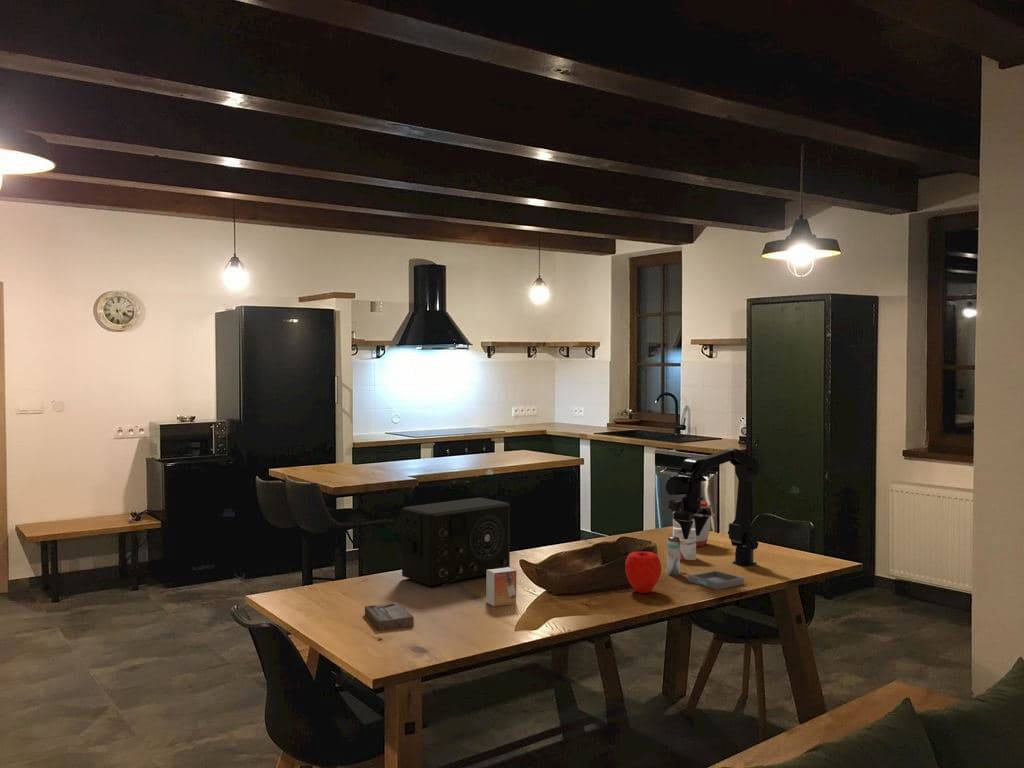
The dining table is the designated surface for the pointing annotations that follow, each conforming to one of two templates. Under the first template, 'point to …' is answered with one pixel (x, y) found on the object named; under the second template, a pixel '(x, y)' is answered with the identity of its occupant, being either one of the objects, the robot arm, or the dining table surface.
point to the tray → (716, 580)
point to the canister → (673, 556)
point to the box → (389, 616)
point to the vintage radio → (454, 540)
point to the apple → (643, 570)
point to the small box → (501, 586)
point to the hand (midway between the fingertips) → (691, 537)
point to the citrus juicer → (704, 533)
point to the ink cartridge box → (686, 542)
